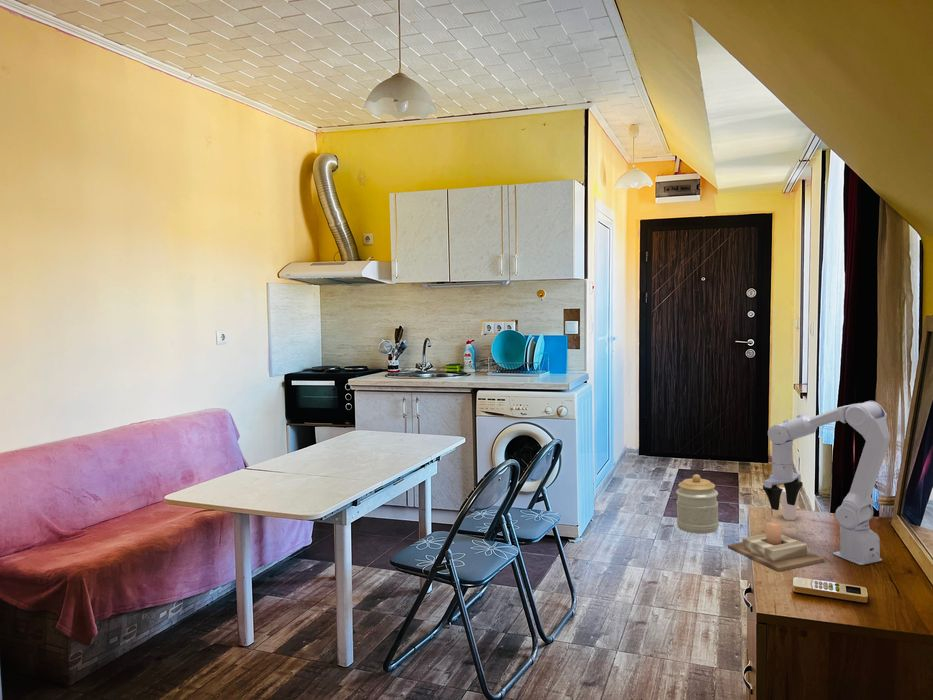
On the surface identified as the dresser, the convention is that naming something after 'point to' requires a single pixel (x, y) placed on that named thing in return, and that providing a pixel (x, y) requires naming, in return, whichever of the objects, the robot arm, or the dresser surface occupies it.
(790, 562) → the socket
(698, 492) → the jar
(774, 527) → the peg
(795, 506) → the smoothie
